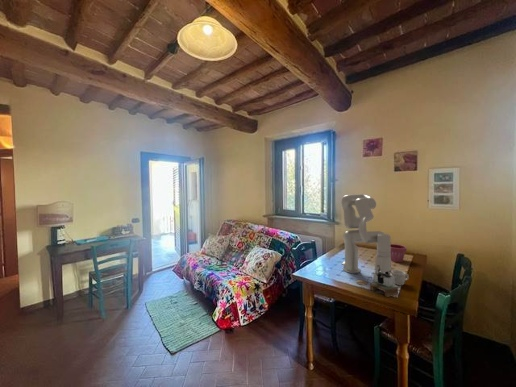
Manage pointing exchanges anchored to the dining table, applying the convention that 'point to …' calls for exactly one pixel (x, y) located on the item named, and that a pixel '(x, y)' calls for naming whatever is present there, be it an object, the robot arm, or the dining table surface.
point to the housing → (385, 279)
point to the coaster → (361, 282)
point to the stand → (384, 288)
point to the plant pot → (397, 252)
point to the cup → (399, 277)
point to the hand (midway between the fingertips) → (383, 281)
